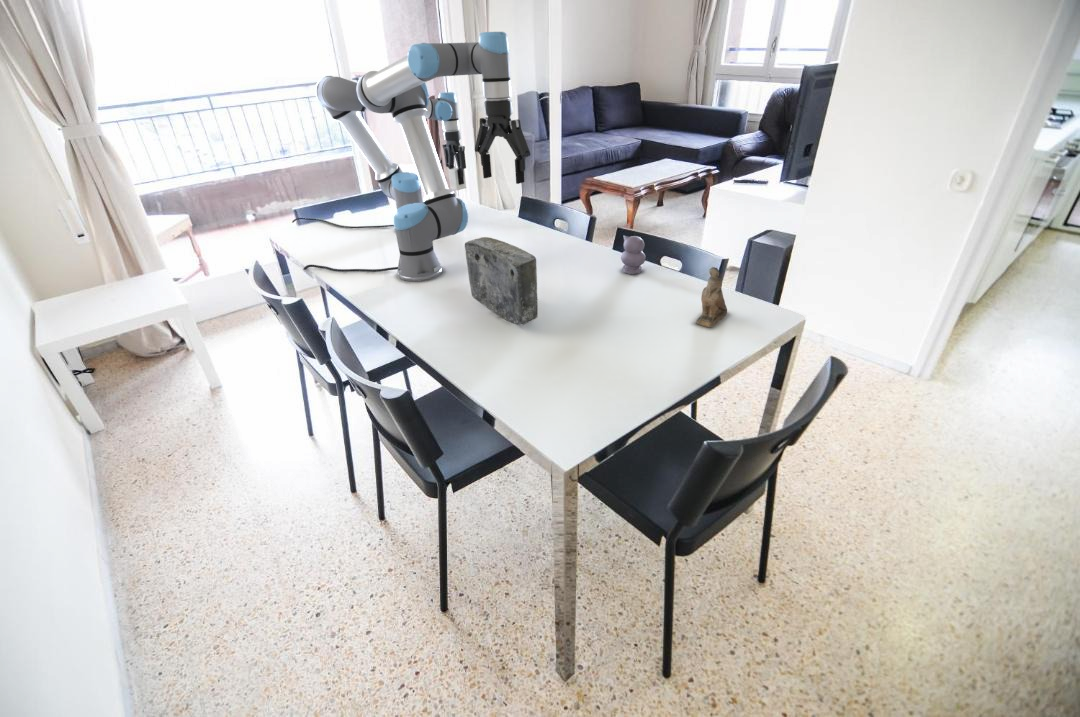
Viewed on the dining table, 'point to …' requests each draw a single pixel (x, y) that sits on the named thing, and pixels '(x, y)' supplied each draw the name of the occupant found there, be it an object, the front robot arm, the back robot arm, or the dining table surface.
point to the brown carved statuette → (712, 301)
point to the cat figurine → (633, 254)
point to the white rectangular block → (456, 180)
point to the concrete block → (503, 279)
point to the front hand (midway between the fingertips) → (503, 180)
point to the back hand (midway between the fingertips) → (457, 183)
